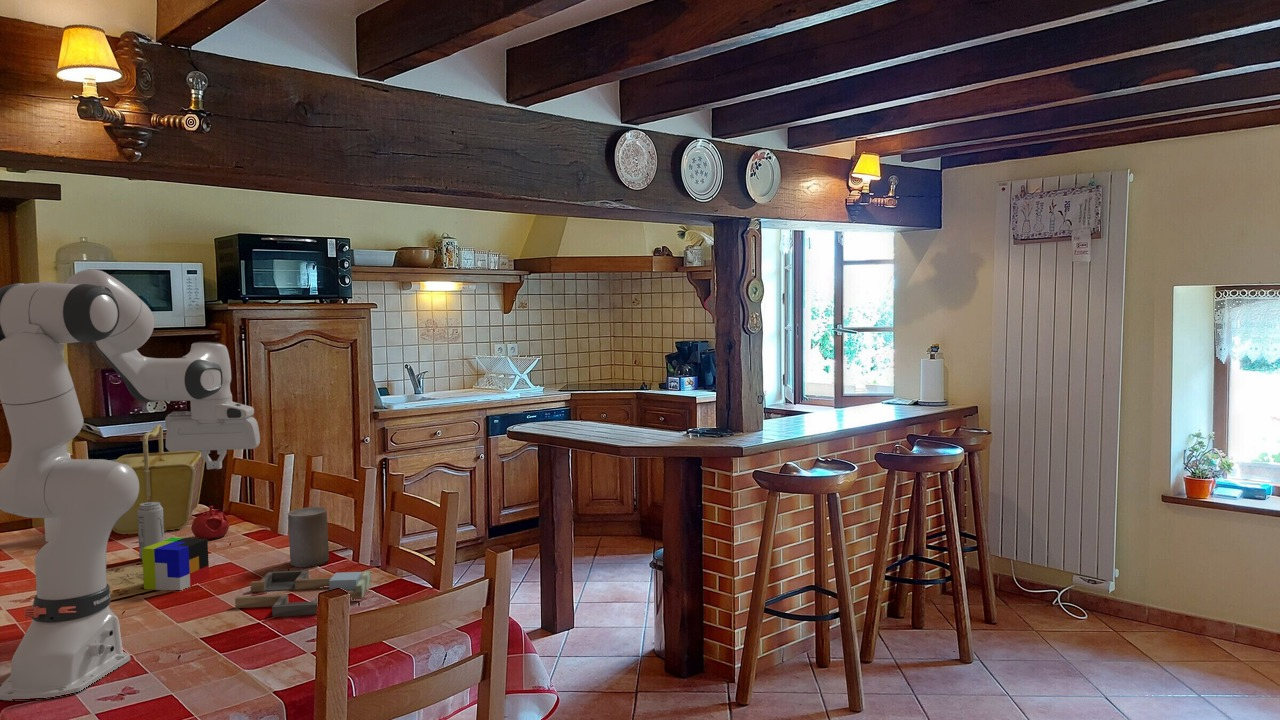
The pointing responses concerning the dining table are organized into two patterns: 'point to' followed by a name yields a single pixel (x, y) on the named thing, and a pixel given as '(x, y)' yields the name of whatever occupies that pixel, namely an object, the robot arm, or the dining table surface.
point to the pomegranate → (210, 525)
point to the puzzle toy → (175, 563)
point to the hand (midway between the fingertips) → (214, 468)
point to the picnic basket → (163, 484)
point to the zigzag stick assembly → (293, 582)
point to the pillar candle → (308, 536)
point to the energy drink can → (150, 524)
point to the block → (345, 580)
